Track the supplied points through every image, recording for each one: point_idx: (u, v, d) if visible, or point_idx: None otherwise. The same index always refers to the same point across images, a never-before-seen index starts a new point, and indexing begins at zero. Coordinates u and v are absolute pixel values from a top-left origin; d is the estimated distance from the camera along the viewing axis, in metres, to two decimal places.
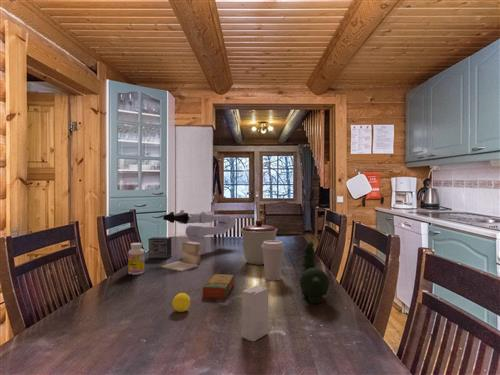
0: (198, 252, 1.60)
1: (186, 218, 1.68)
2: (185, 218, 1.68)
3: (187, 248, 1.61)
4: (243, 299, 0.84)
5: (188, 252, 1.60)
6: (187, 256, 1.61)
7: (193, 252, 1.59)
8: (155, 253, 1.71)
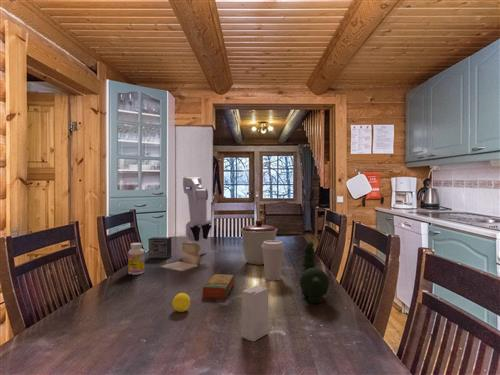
0: (198, 252, 1.60)
1: None
2: None
3: (187, 248, 1.61)
4: (243, 299, 0.84)
5: (188, 252, 1.60)
6: (187, 256, 1.61)
7: (193, 252, 1.59)
8: (155, 253, 1.71)
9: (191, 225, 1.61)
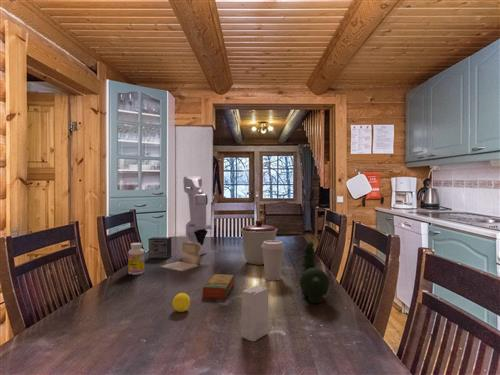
0: (198, 252, 1.60)
1: None
2: None
3: (187, 248, 1.61)
4: (243, 299, 0.84)
5: (188, 252, 1.60)
6: (187, 256, 1.61)
7: (193, 252, 1.59)
8: (155, 253, 1.71)
9: (191, 230, 1.61)
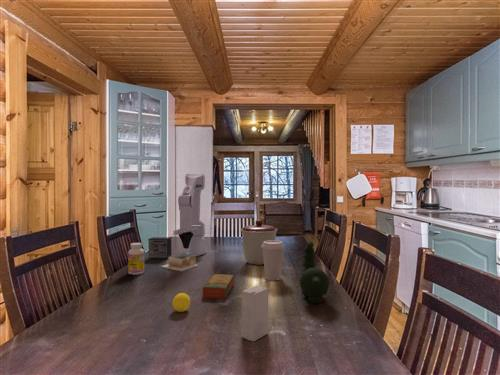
0: (187, 260, 1.54)
1: None
2: None
3: None
4: (243, 299, 0.84)
5: None
6: None
7: None
8: (155, 253, 1.71)
9: (175, 233, 1.53)
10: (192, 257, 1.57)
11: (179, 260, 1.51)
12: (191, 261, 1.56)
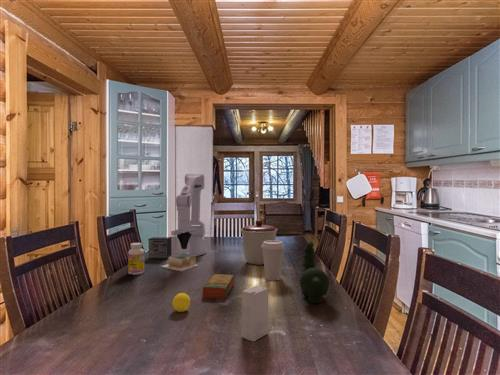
0: (187, 260, 1.54)
1: None
2: None
3: None
4: (243, 299, 0.84)
5: None
6: None
7: None
8: (155, 253, 1.71)
9: (173, 233, 1.52)
10: (192, 257, 1.57)
11: (179, 260, 1.51)
12: (191, 261, 1.56)
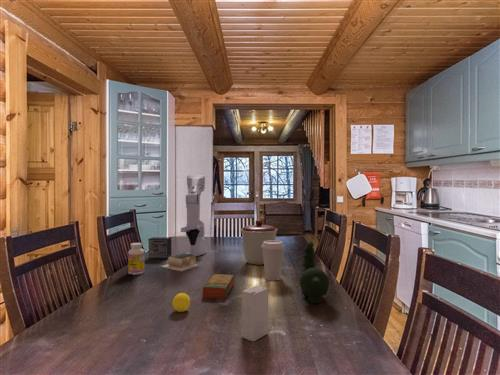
0: (187, 260, 1.54)
1: None
2: None
3: None
4: (243, 299, 0.84)
5: None
6: None
7: None
8: (155, 253, 1.71)
9: (182, 230, 1.59)
10: (192, 257, 1.57)
11: (179, 260, 1.51)
12: (191, 261, 1.56)
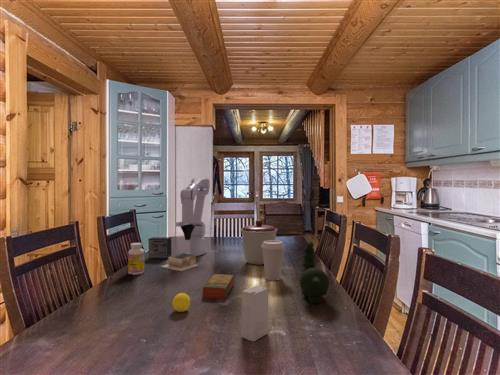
0: (187, 260, 1.54)
1: None
2: None
3: None
4: (243, 299, 0.84)
5: None
6: None
7: None
8: (155, 253, 1.71)
9: (177, 224, 1.62)
10: (192, 257, 1.57)
11: (179, 260, 1.51)
12: (191, 261, 1.56)
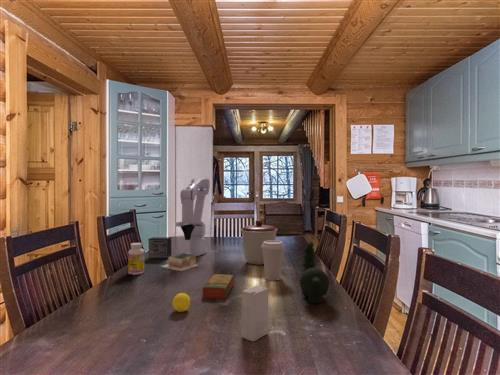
0: (187, 260, 1.54)
1: None
2: None
3: None
4: (243, 299, 0.84)
5: None
6: None
7: None
8: (155, 253, 1.71)
9: (177, 224, 1.62)
10: (192, 257, 1.57)
11: (179, 260, 1.51)
12: (191, 261, 1.56)
